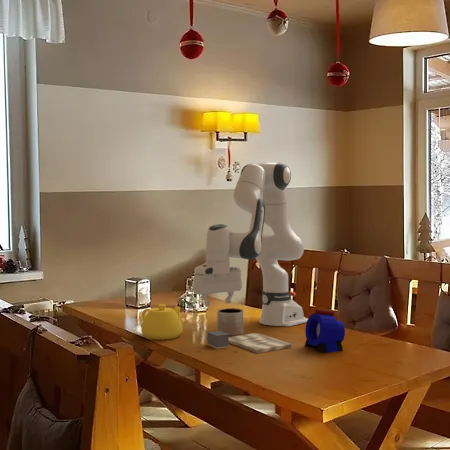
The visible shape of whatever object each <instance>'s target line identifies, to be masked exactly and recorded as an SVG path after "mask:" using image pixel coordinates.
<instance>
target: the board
mask: <svg viewBox="0 0 450 450" xmlns="http://www.w3.org/2000/svg"><path fill="white" fill-rule="evenodd" d="M228 344H231V345H234V346H236V347H238V348H239V347H240V348H242V349H245V350H247V351H251V352H253V353H255V354H261V353H267V352H271V351H272V352H273V351H278V350H279V351H280V350H283V349H289V348H290V349H291V348H292V347H293V346H292V343H290V342H286V341H283V340H280V339H277V338H274V337H272V336H268V335H265V334H263V333H259V332H253V333H252V332H251V333H248V334H241V335H239V336H229V338H228Z"/></svg>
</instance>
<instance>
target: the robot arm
mask: <svg viewBox="0 0 450 450" xmlns="http://www.w3.org/2000/svg"><path fill="white" fill-rule="evenodd" d="M291 179H292V172H291V169H290V167H289V165H287V164H286V163H283V162H260V163H259V162H258V163H248V164H246V165H244V166H243V167H242V169H241V171H240V175H239V178H238V180H237V182H236V184H235V185H236V186H235V188H234V190H233V200H234V202H235V204H236V205H237V207H239V209H241V210H243V211H245V212H247V213H249V214H250V215H251V220H250V226H249V230H248V231H247V232H232V231H231V230H229V226H228V225H226V224H224V223H223V224H213V225H210V226H209V227H208V229H207V233H206V239H205V240H206V243H205V244H206V246H205V248H206V260H205V262H204V263H203V264H200V265H198V266H196V267H195V268H194V276H193V279H192V292H193V293H194V294H195V295H198V296H199V295H201V298H202V300H203V305H204V306H205V307H207V306H210V305H211V301H210V300H208V298H207V297H208V294H220V293H227V294H228V295H227V297H226V298H225V299H224V300H225V302H224V303H225V304H231V303H232V298H233V296H234V292H238V291H239V292H240V291H241V290H242V289H243V286H242V284H243V283H242V269H241V268H239V267H238V266H230V263H231V262H230V261H231V260H230V259H231V258H232V259H242V260H243V259H244V260H249V261H253V260H256V261H257V262H258V265H259V267H260V270H261V273H262V286H263V287H262V291H261V299H262V307H261V314H260V317H259V324H261V325H264V326H265V325H266V326H273V327H275V326H276V327H293V326H295V325H300V324H304V323H305V324H306V323H307V320H308V318H309V317H308V318H307V317H305V315H304V310H303V307H302V306H301V305H299V304H298V303H297V302H296V301H295V300H293V299H292V297H296V292H295V291H290V290H289V274H288V272H287V271H286V270H285V269H284V268H283V267H281V266H280V264H279V262H278V261H295V260H299V259H301V257H302V256H303V254H304V251H305V244H304V242H303V240H302V238H300V237H299V236H298V235H297V234H296V233H295V231H294V230H293V228H292V225H291V223H290V219H289V217H290V216H289V207H288V206H289V202H288V192H287V191H288V190H287V187H288V186H289V184H290V183H291ZM264 225H266V226H268V227H270V228H271V230H272V232H273V234H271V233H270V234H268V233H267V234H266V233H265V234H263V233H264Z"/></svg>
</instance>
